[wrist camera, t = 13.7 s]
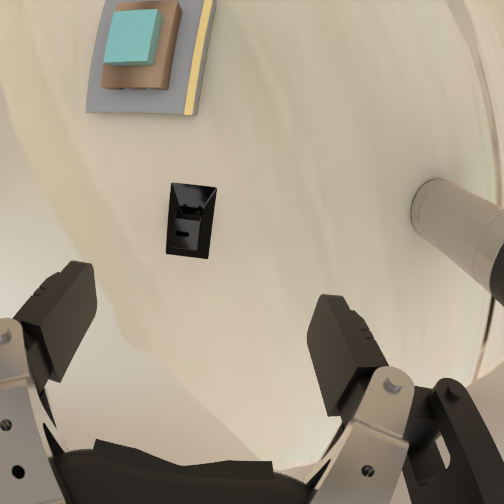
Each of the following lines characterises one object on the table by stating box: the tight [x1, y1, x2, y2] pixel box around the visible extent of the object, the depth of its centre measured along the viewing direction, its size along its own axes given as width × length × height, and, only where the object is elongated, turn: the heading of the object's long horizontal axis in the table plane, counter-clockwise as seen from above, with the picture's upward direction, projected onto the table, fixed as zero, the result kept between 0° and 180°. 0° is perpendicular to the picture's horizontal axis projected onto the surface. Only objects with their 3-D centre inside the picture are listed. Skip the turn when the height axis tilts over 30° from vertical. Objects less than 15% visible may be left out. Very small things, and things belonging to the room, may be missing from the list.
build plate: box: [166, 183, 217, 259], centre depth 35 cm, size 12×7×5 cm, turn 170°
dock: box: [85, 0, 216, 115], centre depth 25 cm, size 12×14×4 cm
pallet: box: [100, 0, 183, 90], centre depth 22 cm, size 6×9×4 cm, turn 171°
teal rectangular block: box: [103, 9, 163, 66], centre depth 19 cm, size 4×5×2 cm
